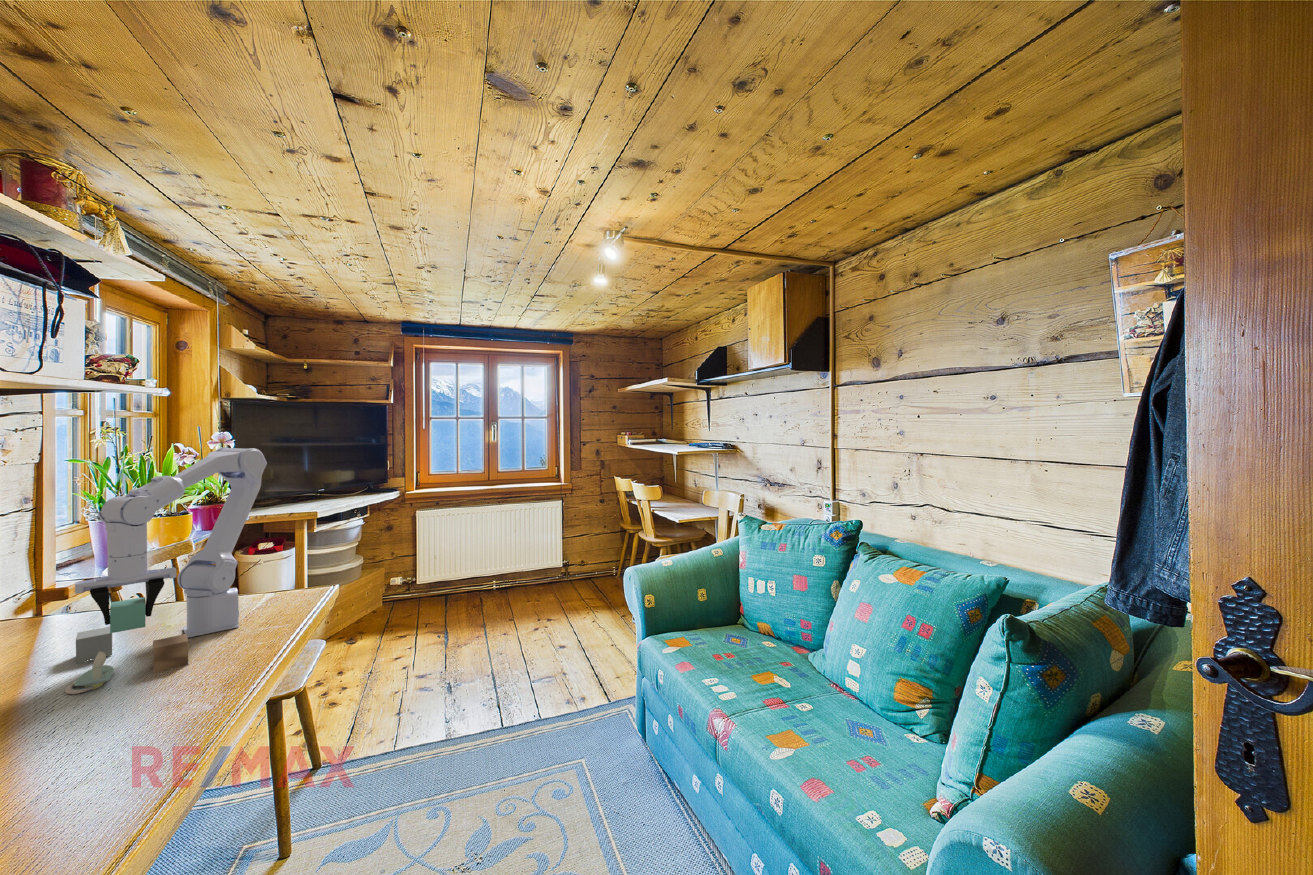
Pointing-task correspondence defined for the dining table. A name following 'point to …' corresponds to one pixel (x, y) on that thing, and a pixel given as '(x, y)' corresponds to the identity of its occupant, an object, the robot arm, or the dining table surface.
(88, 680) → the pacifier
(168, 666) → the walnut block
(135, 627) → the teal block
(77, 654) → the slate block
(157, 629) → the dining table surface
